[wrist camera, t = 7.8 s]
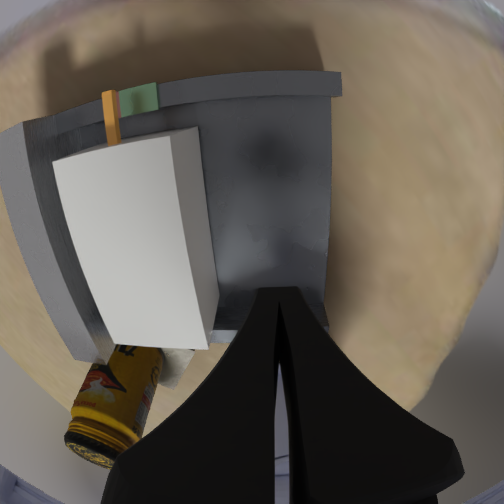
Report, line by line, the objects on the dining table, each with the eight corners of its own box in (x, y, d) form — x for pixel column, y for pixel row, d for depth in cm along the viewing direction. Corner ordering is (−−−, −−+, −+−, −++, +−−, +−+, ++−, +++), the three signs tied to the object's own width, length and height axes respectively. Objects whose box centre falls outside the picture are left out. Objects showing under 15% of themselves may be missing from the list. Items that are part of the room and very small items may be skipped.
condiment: (108, 311, 22) (47, 425, 12) (195, 350, 24) (168, 476, 14) (101, 355, 26) (59, 450, 15) (174, 387, 27) (150, 488, 17)
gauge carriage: (219, 295, 19) (208, 349, 15) (139, 295, 20) (114, 343, 15) (194, 82, 13) (163, 73, 9) (97, 104, 13) (44, 110, 9)
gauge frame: (320, 309, 21) (334, 370, 16) (104, 309, 22) (74, 359, 17) (326, 76, 13) (360, 62, 8) (52, 120, 15) (-9, 136, 9)
